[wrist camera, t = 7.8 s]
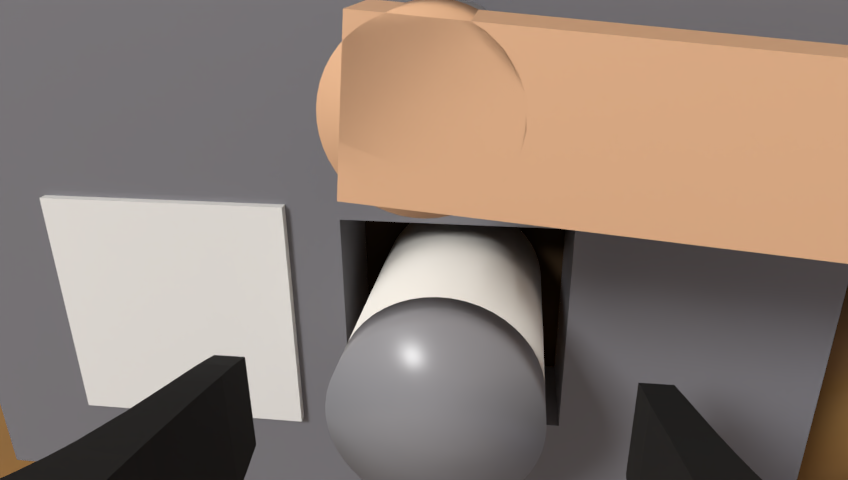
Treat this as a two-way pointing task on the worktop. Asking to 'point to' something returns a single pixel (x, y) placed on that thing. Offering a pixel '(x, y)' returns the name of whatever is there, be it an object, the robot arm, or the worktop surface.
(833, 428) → the worktop surface
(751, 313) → the socket panel
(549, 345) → the worktop surface
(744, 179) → the tan long bar
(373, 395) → the plug
